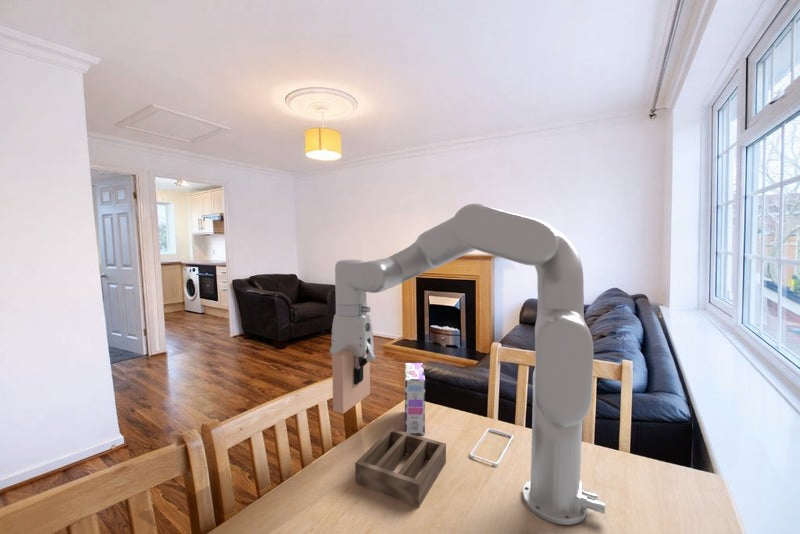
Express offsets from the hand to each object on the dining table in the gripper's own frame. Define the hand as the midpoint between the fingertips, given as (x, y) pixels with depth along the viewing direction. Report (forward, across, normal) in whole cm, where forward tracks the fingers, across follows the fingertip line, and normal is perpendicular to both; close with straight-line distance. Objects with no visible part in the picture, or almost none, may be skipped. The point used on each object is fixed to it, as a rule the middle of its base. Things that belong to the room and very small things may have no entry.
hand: (352, 380), depth 90 cm
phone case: (+21, -31, -20) cm, 42 cm away
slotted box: (+20, -14, 0) cm, 25 cm away
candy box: (+21, -7, -22) cm, 31 cm away
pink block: (+6, 0, 0) cm, 6 cm away
